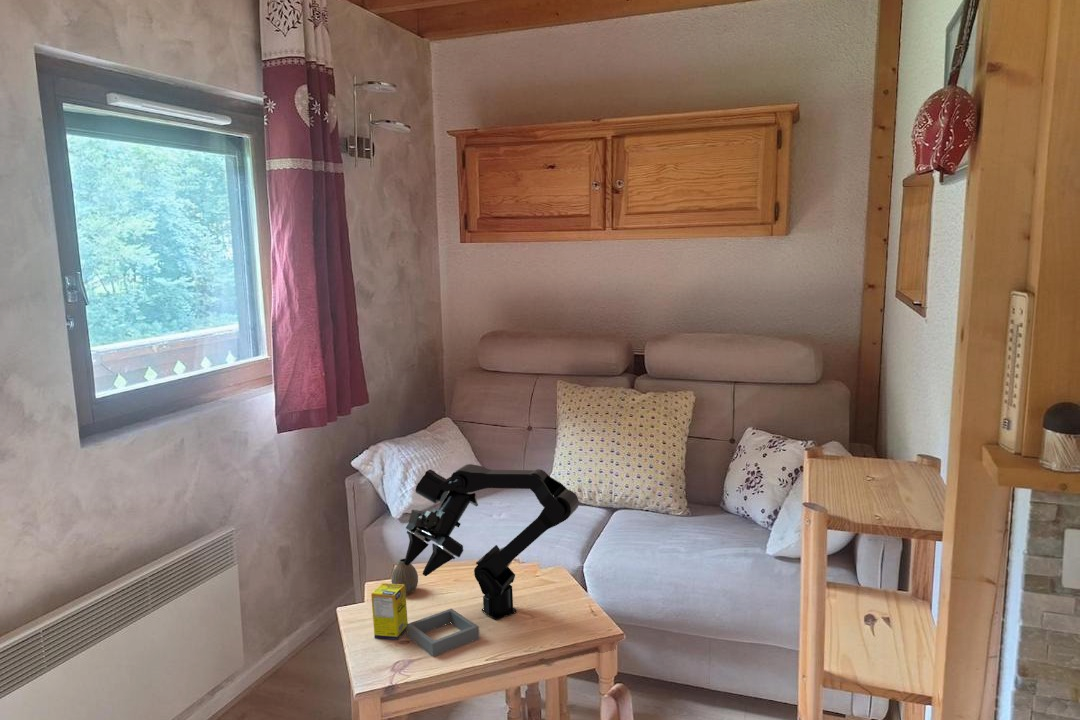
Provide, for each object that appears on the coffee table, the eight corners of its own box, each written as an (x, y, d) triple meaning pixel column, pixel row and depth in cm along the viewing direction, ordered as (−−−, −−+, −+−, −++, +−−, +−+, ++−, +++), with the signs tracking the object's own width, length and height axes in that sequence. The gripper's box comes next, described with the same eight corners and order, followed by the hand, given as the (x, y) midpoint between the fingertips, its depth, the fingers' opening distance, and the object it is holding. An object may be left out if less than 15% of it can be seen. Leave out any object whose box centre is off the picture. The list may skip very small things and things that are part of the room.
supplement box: (408, 628, 176) (405, 583, 174) (397, 640, 170) (395, 594, 168) (385, 626, 177) (382, 582, 176) (373, 638, 171) (370, 593, 170)
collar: (452, 620, 179) (451, 608, 178) (479, 638, 169) (478, 626, 169) (407, 636, 171) (406, 624, 171) (432, 656, 162) (432, 643, 162)
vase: (413, 598, 191) (411, 566, 190) (388, 597, 193) (385, 564, 192) (422, 587, 198) (420, 555, 197) (398, 585, 199) (396, 554, 198)
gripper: (408, 488, 185) (372, 544, 179) (446, 503, 170) (408, 564, 165) (439, 510, 190) (405, 565, 185) (479, 527, 176) (443, 586, 170)
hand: (414, 569), depth 176 cm, fingers open, 9 cm apart
